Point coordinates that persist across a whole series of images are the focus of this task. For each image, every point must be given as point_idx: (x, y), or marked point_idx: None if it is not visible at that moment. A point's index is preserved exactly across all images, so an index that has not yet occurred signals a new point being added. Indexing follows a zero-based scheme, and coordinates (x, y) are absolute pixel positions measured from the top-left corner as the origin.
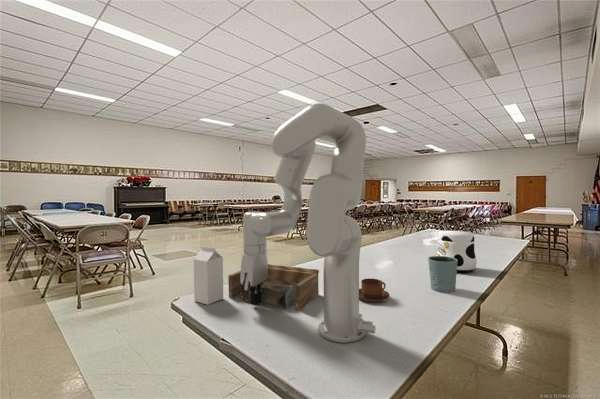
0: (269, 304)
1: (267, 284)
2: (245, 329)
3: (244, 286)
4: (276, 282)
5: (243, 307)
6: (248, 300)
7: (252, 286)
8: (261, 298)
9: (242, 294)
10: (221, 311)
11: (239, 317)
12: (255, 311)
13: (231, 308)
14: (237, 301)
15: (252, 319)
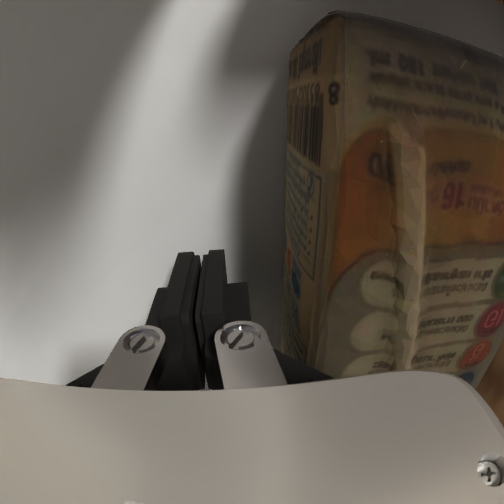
0: (280, 342)
1: (432, 356)
2: (5, 370)
3: (325, 71)
4: (484, 372)
5: (148, 186)
6: (287, 132)
7: (334, 236)
8: (285, 305)
9: (297, 50)
10: (13, 101)
11: (30, 281)
12: (147, 313)
13: (81, 114)
14: (236, 35)
15: (67, 354)
